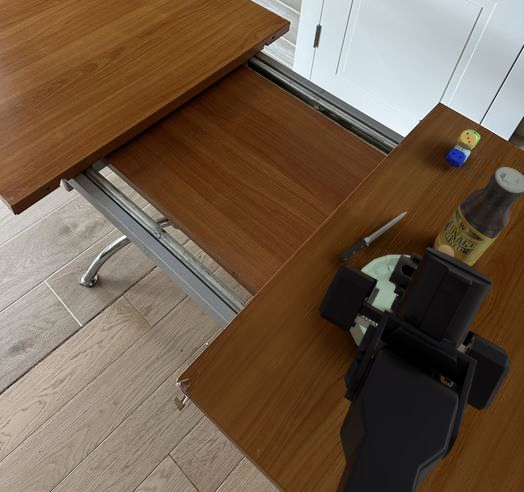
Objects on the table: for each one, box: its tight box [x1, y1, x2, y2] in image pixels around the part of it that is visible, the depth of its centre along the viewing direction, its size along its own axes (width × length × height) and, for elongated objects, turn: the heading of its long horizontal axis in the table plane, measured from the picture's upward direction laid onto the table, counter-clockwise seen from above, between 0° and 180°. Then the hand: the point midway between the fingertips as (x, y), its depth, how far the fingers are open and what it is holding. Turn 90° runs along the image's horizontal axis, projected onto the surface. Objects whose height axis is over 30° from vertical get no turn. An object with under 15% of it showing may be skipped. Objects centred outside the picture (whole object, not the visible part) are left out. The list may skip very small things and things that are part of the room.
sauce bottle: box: [432, 166, 524, 267], centre depth 71 cm, size 7×6×20 cm
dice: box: [445, 128, 481, 168], centre depth 89 cm, size 8×3×6 cm, turn 140°
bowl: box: [349, 254, 411, 357], centre depth 69 cm, size 15×15×4 cm
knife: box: [338, 210, 409, 264], centre depth 78 cm, size 15×1×2 cm, turn 128°
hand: (412, 311), depth 62 cm, fingers open, 9 cm apart
